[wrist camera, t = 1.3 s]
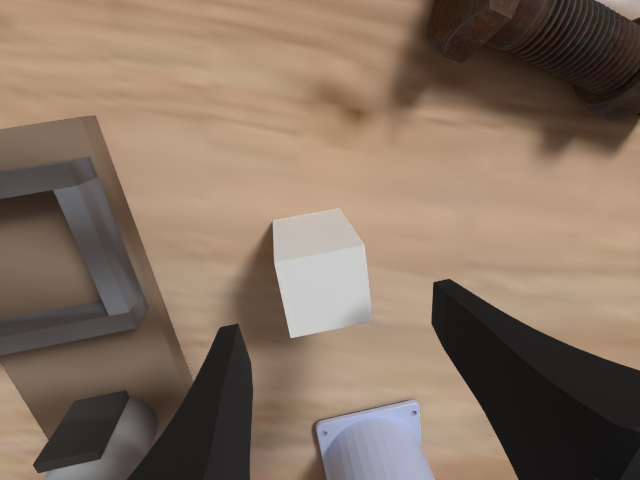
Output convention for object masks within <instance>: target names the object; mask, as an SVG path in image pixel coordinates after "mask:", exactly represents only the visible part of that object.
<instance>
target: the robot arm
mask: <svg viewBox="0 0 640 480" xmlns="http://www.w3.org/2000/svg"><path fill="white" fill-rule="evenodd" d="M431 323H432V326H433V328H434V330H435V332H436V334H437V336H438V338H439V340H440V342H441V344H442V346H443V348H444V350H445V351H446V353H447V354H448V356H449V358H450V359H451V361H452V362H453V364H454V365H455V367H456V368H457V370H458V371H459V373H460V374H461V376H462V378H463V379H464V381H465V382H466V384H467V385H468V387H469V388H470V390H471V391H472V393H473V394H474V396H475V397H476V399H477V400H478V402H479V404H480V405H481V407H482V409H483V410H484V412H485V414H486V416H487V418H488V420H489V422H490V423H491V425H492V427H493V429H494V431H495V433H496V435H497V437H498V439H499V441H500V443H501V445H502V447H503V449H504V451H505V453H506V455H507V457H508V459H509V461H510V463H511V465H512V467H513V469H514V471H515V473H516V475H517V477H518V479H519V480H640V371H639V370H636V369H633V368H630V367H627V366H624V365H621V364H618V363H615V362H612V361H609V360H606V359H603V358H601V357H598V356H596V355H593V354H590V353H588V352H585V351H583V350H580V349H577V348H575V347H573V346H570V345H568V344H566V343H563V342H561V341H559V340H557V339H555V338H552V337H550V336H548V335H546V334H544V333H542V332H540V331H537V330H535V329H533V328H532V327H530V326H528V325H526V324H524V323H522V322H520V321H518V320H517V319H515V318H513V317H511V316H509V315H508V314H506V313H504V312H502V311H501V310H499V309H497V308H496V307H494V306H492V305H491V304H489V303H487V302H486V301H484V300H482V299H481V298H479V297H478V296H476V295H474V294H473V293H471V292H470V291H468V290H466V289H465V288H463V287H462V286H460V285H459V284H457V283H455V282H454V281H452V280H450V279H447V280H442V281H437V282H434V284H433V303H432V321H431ZM252 400H253V384H252V369H251V361H250V358H249V355H248V352H247V349H246V346H245V343H244V340H243V337H242V334H241V331H240V328H239V325H238V324H234V325H229V326H224V327H221V328H220V329H219V330H218V332H217V335H216V337H215V339H214V342H213V344H212V346H211V348H210V351H209V353H208V355H207V357H206V359H205V361H204V363H203V365H202V367H201V369H200V371H199V373H198V375H197V377H196V379H195V381H194V382H193V384H192V386H191V388H190V390H189V391H188V393H187V395H186V396H185V398H184V400H183V402H182V403H181V405H180V407H179V408H178V410H177V412H176V413H175V415H174V416H173V418H172V419H171V421H170V422H169V424H168V425H167V427H166V428H165V430H164V431H163V433H162V434H161V436H160V437H159V438H158V440H157V441H156V442H155V444H154V445H153V446H152V448H151V449H150V450H149V452H148V453H147V455H146V456H145V457H144V458H143V460H142V461H141V462H140V464H139V465H138V466H137V467H136V469H135V470H134V471H133V472H132V473H131V475H130V476H129V477H128V478H127V479H126V480H250V471H249V470H250V440H251V421H252ZM316 431H317V436H318V441H319V445H320V450H321V455H322V460H323V464H324V469H325V474H326V479H327V480H435V478H434V476H433V473H432V471H431V469H430V467H429V464H428V462H427V460H426V458H425V455H424V453H423V451H422V445H421V427H420V409H419V404H418V402H417V401H416V400H409V401H405V402H400V403H396V404H391V405H387V406H383V407H378V408H374V409H369V410H365V411H360V412H356V413H352V414H347V415H343V416H338V417H334V418H329V419H325V420H321V421H319V422H317V424H316ZM323 431H325V432H323Z"/></svg>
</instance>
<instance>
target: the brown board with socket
mask: <svg viewBox="0 0 640 480" xmlns="http://www.w3.org/2000/svg"><path fill="white" fill-rule="evenodd" d="M0 362H1V364H2V365H3V367H4V369H5V370H6V372H7V373H8V375H9V377H10V378H11V380H12V382H13V383H14V385H15V386H16V388H17V390H18V391H19V393H20V394H21V396H22V398H23V399H24V401H25V403H26V404H27V406H28V407H29V409H30V411H31V412H32V414H33V416H34V417H35V419H36V420H37V422H38V424H39V425H40V427H41V429H42V430H43V432H44V433H45V435H46V437H47V438H48V440H49V441H48V442H47V444H46V445H45V447H44V449H43V450H42V452H41V453H40V455H39V456H38V458H37V459H36V461H35V462H34V464H33V466H34V468H35V469H36V471H37V472H38V473H41V472H46V471H49V472H48V474H47V475H46V477H45V479H44V480H126V479H127V478H128V477H129V476H130V475H131V473H132V472H133V471H134V470H135V469H136V467H137V466H138V465H139V464H140V462H141V461H142V460H143V458H144V457H145V456H146V455H147V453H148V452H149V450H150V449H151V448H152V446H153V445H154V444H155V442H156V441H157V440H158V438H159V437H160V436H161V434H162V433H163V431H164V430H165V428H166V427H167V425H168V424H169V422H170V421H171V419H172V418H173V416H174V415H175V413H176V412H177V410H178V408H179V407H180V405H181V403H182V402H183V400H184V398H185V396H186V395H187V393H188V391H189V390H190V388H191V386H192V384H193V380H192V378H191V375H190V372H189V370H188V367H187V364H186V361H185V359H184V356H183V353H182V351H181V348H180V345H179V342H178V340H177V337H176V334H175V331H174V329H173V326H172V323H171V321H170V318H169V315H168V312H167V310H166V307H165V304H164V302H163V299H162V296H161V293H160V291H159V288H158V285H157V282H156V280H155V277H154V274H153V272H152V269H151V266H150V263H149V261H148V258H147V255H146V252H145V250H144V247H143V244H142V242H141V239H140V236H139V233H138V231H137V228H136V225H135V223H134V220H133V217H132V214H131V212H130V209H129V206H128V203H127V201H126V198H125V195H124V193H123V190H122V187H121V184H120V182H119V179H118V176H117V174H116V171H115V168H114V165H113V163H112V160H111V157H110V154H109V152H108V149H107V146H106V144H105V141H104V138H103V135H102V133H101V130H100V127H99V124H98V122H97V119H96V116H87V117H77V118H70V119H64V120H58V121H51V122H45V123H39V124H32V125H26V126H19V127H13V128H7V129H0Z"/></svg>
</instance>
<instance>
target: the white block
mask: <svg viewBox="0 0 640 480" xmlns="http://www.w3.org/2000/svg"><path fill="white" fill-rule="evenodd" d="M273 244H274V264H275V269H276V274H277V278H278V283H279V287H280V292H281V296H282V301H283V306H284V310H285V315H286V319H287V324H288V328H289V333H290V338H295V337H299V336H304V335H309V334H314V333H319V332H323V331H328V330H333V329H338V328H343V327H347V326H352V325H357V324H362V323H367V322H371V321H373V318H372V309H371V300H370V291H369V282H368V272H367V263H366V254H365V245H364V244H363V242H362V241H361V239H360V238H359V236H358V235H357V233H356V232H355V231H354V229H353V228H352V226H351V225H350V223H349V222H348V220H347V219H346V217H345V216H344V214H343V213H342V211H341V210H340V208H337V209H332V210H326V211H321V212H315V213H310V214H305V215H299V216H294V217H288V218H283V219H277V220H273Z"/></svg>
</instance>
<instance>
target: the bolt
mask: <svg viewBox="0 0 640 480" xmlns="http://www.w3.org/2000/svg"><path fill="white" fill-rule="evenodd" d="M428 36H429V39H430V41H431V43H432V44H433V45H434V47H435V48H436V49H437V50H438V51H439V52H440V53H441V54H442V55H444V56H446V57H448V58H450V59H453V60H455V61H457V62H459V63H461V64H462V63H463V62H464V61H465V60H467V59H468V58H469V57H470V56H471V55H472V54H473V53H474V52H475V51H477V50H478V49H479V48H480V47H481V46H482V45H483V44H485V45H487V46H489V47H491V48H494V49H496V50H504V51H506V52H507V53H510V54H511V55H513V56H515V57H517V58H520V59H522V60H525V61H527V62H528V63H531V64H532V65H535V66H536V67H538V68H541V69H542V70H545V71H547V72H549V73H552V74H553V75H556V76H557V77H559V78H561V79H564V80H566V81H568V82H570V83H572V84H575V85H576V89H575V93H576V95H577V97H578V98H579V99H580V101H582V102H583V103H584V104H585V105H586V106H587V107H588V108H589V109H590V110H591V111H593V112H594V113H595V114H596V115H599V116H601V117H603V118H605V119H607V120H610V121H612V120H616V119H621V118H625V117H628V116H631V115H634V114H637V115H638V116H640V17H639V18H637V19H634V20H632V21H631V20H629V19H627V18H626V17H624V16H621V15H620V14H619V13H616V12H615V11H614V10H611V9H610V8H609V7H606V6H605V5H603V4H601V3H599V2H597V1H595V0H436V2H435V4H434V7H433V10H432V14H431V18H430V25H429V35H428Z"/></svg>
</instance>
